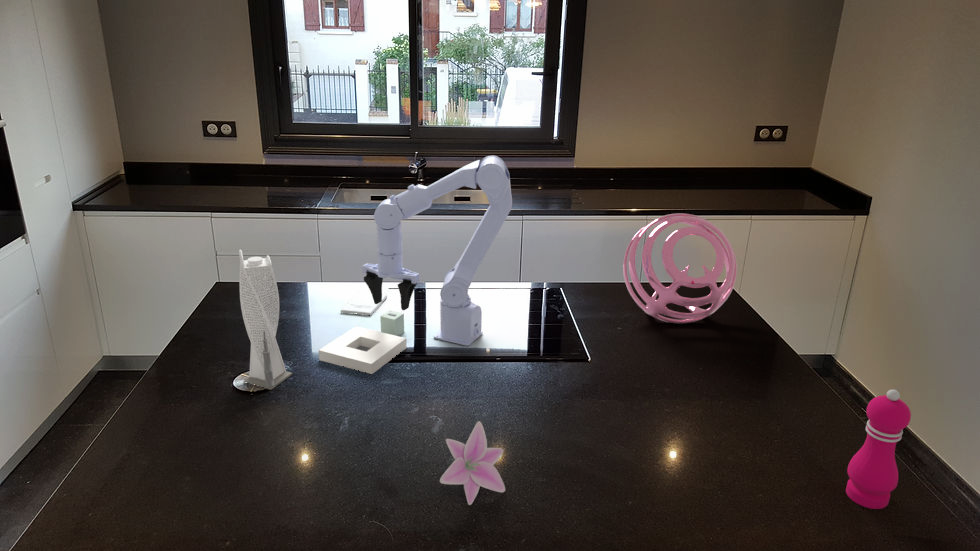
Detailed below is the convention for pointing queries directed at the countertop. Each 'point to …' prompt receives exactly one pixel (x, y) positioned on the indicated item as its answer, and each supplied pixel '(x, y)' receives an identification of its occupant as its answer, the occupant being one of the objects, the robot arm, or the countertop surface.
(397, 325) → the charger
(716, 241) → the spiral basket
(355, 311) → the external hard drive
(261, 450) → the countertop surface
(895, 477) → the pepper mill
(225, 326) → the countertop surface
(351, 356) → the outlet plate
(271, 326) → the skyscraper
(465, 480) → the lily
